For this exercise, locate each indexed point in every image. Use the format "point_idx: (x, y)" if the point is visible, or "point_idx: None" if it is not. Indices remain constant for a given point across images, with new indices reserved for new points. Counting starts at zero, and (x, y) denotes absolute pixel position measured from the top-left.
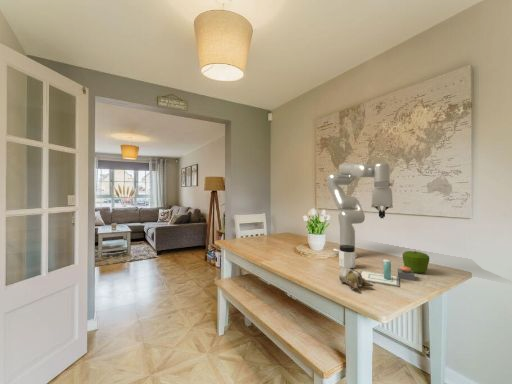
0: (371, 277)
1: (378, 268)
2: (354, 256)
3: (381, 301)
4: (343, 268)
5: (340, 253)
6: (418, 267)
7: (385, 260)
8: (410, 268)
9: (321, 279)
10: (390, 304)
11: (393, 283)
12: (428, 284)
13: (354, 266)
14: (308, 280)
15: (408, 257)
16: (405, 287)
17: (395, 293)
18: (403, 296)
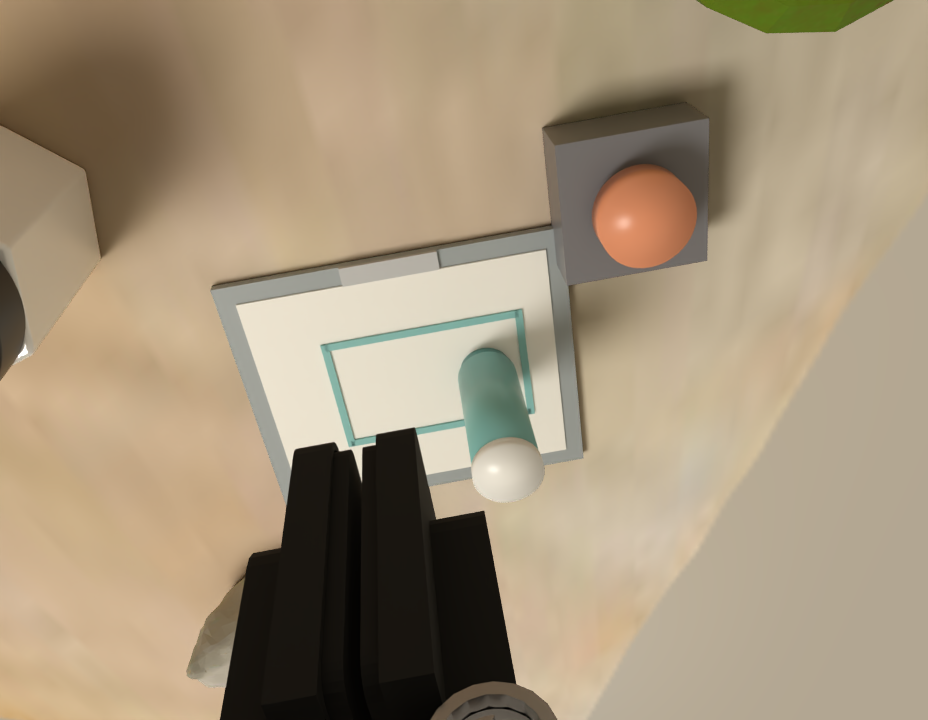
0: (368, 418)
1: (314, 23)
2: (43, 249)
3: (518, 683)
4: (219, 678)
5: None
6: None
7: (496, 490)
8: (692, 231)
9: (90, 638)
10: (561, 685)
11: (543, 440)
12: (785, 256)
13: (86, 202)
14: (42, 696)
15: (711, 8)
16: (620, 431)
17: (569, 560)
18: (613, 571)
